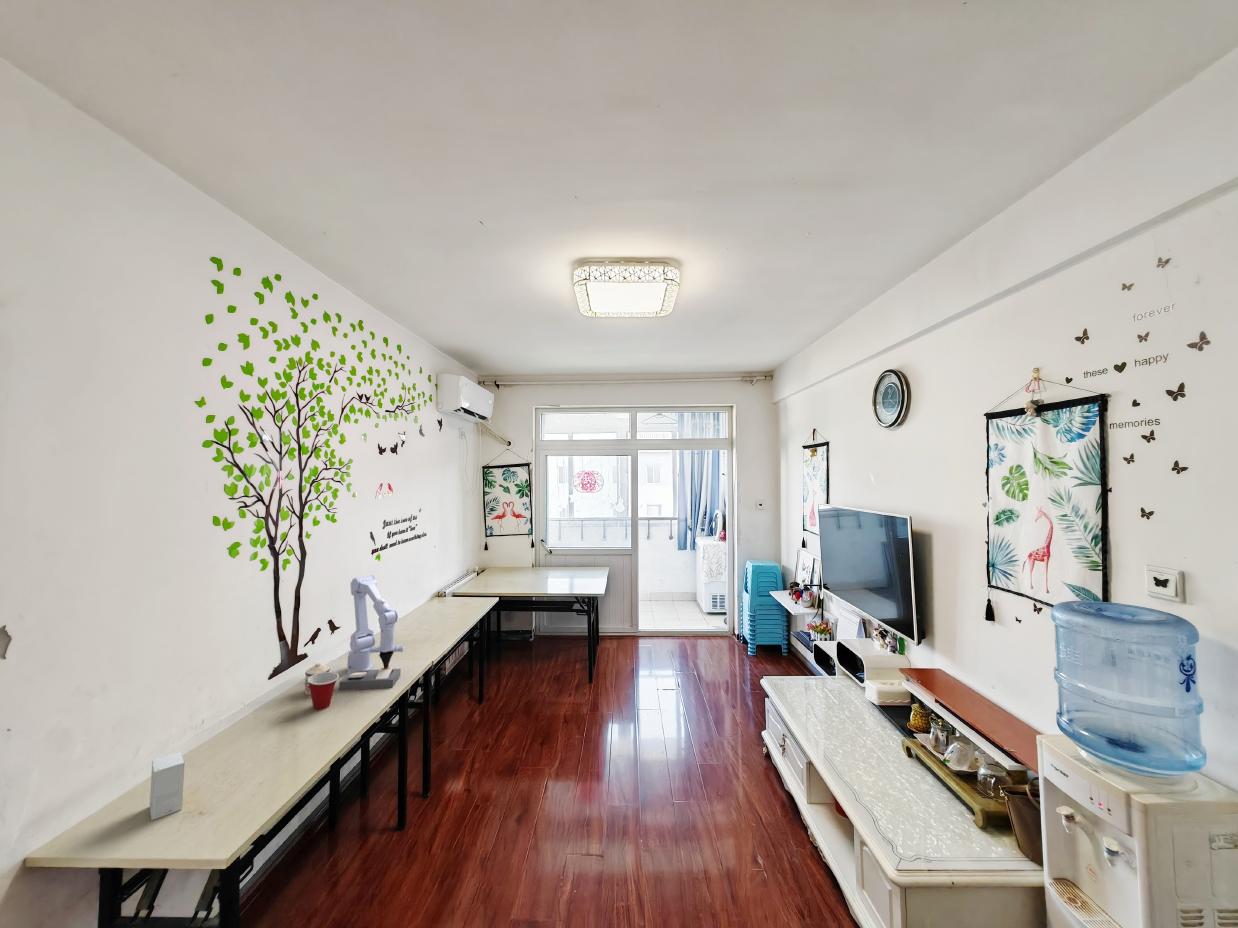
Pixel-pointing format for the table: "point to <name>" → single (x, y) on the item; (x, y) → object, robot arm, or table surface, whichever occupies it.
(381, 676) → the rocker right
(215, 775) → the table surface
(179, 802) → the small box
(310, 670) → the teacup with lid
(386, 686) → the grey flat block
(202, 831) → the table surface
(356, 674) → the rocker left
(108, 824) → the table surface
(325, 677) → the plastic cup
